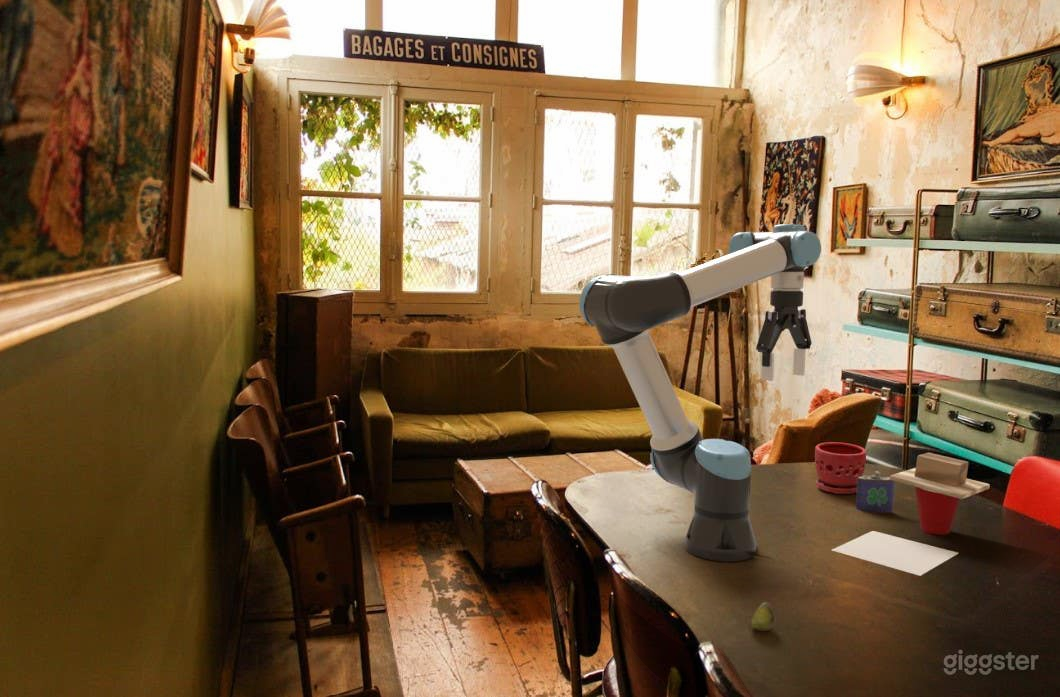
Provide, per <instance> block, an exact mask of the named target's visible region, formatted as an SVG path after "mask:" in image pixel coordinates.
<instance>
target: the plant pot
mask: <svg viewBox="0 0 1060 697" xmlns="http://www.w3.org/2000/svg"><path fill="white" fill-rule="evenodd" d="M836 452H837V453H836ZM866 460H867V451H866V449H865V447H862V446H859V445H857V444H851V443H846V442H836V441H834V442H831V441H830V442H822V443H818V444H817V445H816V446H815V448H814V466H815V470H816V474H817V476H818V478H817V479H816V481H815V482H816V485H817V487H818V488H819V489H821V490H823V491H825V492H829V493H832V494H839V495H849V494H855V493H857V478H858V477H862V476H864V472H865V469H866V463H867V461H866Z"/></svg>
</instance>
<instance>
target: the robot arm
mask: <svg viewBox="0 0 1060 697" xmlns="http://www.w3.org/2000/svg"><path fill="white" fill-rule="evenodd" d="M821 253H822V244H821V240H820V238H819V236H818V235H817V234H816V233H814V232H812V231H809V230H808V231H806V227H805V226H804V225H802V224H775V225H774V226H773V228H772V231H761V232H756V231H755V232H754V231H753V232H752V231H745V232H744V231H743V232H742V231H741V232H737V233H735V234H733V236H731V238H730V240H729V244H728V254H726V255H723V256H720V257H717V258H715V259H713V260H711V261H708V262H705V263H702V264H700V265H697V266H694V267H691V268H689V269H685V270H683V271H681V272H677V271H675V270H670V271H667V272H664V273H660V274H657V275H648V276H647V275H645V276H643V275H642V276H641V275H638V276H636V275H632V276H631V275H617V274H615V273H614V274H613V273H608V274H602V275H598V276H595V277H594V278H592V279H590V280H589V281H588V282H587V283H586V284H585V286H584V287H583V289H582V291H581V294H580V297H579V302H578V303H579V304H578V306H579V311H580V315H581V316H582V318H583V320H584V321H585V322H586V323H588V324H589V325H590V326H591V327H595V329H596V331H597V334H598V336H599V338H600V339H601V341H602V344H603V345H604V346H607V347H609V348H612V349H613V351H614V353H615V355H616V357H617V360H618V362H619V365H621V369H622V371H623V373H624V375H625V378H626V380H627V381H628V383H629V386H630V387H631V390H632V392H633V394H634V396H635V399H636V402H638V405H639V408H640V409H641V411H642V414H643V416H644V418H645V420H646V423H647V425H648V427H649V429H650V431H651V433H652V435H651V438H650V441H649V445H650V447H651V449H650V450H651V452H650V453H649V454H650V457H649V458H650V463H651V464H650V465H651V466H652V468H653V471H654V472H655V473H656V475H658V476H659V477H660V478H662V479H663V480H664V481H665V482H666V483H669V484H671V485H674V486H677V487H679V488H681V489H684V490H686V491H688V492H691V493H693V494H694V510H693V511H694V513H693V516H692V519H691V522H690V524H689V527H688V529H687V532H686V535H685V546H684V548H685V549H686V551H687V552H689V553H690V554H691V555H693V556H695V557H698V558H702V559H705V560H710V561H716V562H731V563H732V562H740V561H741V562H742V561H746V560H749V559H751V558H754V557H755V556H756V554H757V552H756V551H757V540H756V538H755V534H754V530H753V527H752V524H751V520H750V498H751V479H752V469H753V468H752V463H751V461H752V460H751V454H750V451H749V450H748V449H747V448H746V447H745V446H744V445H742V444H740V443H737V442H735V441H732V440H725V439H722V438H706V439H704V437H703V435H702V432H701V431H700V429H699V426H698V424H697V423H696V422H695V421H693V420H689V419H688V417H687V416H686V413H685V411H684V409H683V407H682V405H681V402H680V399H679V398H678V395H677V393H676V391H675V389H674V386H673V384H672V381H671V380H670V377H669V375H668V372H667V370H666V368H665V366H664V364H663V361H662V359H661V357H660V354H659V352H658V351H657V347H656V345H655V343H654V341H653V338H652V337H651V334H650V330H651V329H655V328H657V327H659V326H662V325H664V324H667V323H669V322H671V321H674V320H676V319H679V318H681V317H684V316H687V315H688V314H689V313H690V312H691V310H692V308H693V307H696V306H698V305H701V304H703V303H706V302H708V301H711V300H713V299H716V298H718V297H721V296H723V295H726V294H728V293H731V292H733V291H736V290H738V289H741V288H743V287H746V286H749V285H751V284H754V283H756V282H758V281H761V280H763V279H766V278H769V277H770V288H771V289H772V290H771V291H770V296H769V297H770V298H769V300H770V301H769V304H770V306H772V307H773V310H766V311H765V314H764V315H765V316H764V321H763V325H762V327H761V331H760V333H759V337H758V340H757V344H756V347H755V349H756V351H757V352H758V353H761V380H764V381H767V382H768V381H769V382H773V381H774V370H775V353H774V352H773V351H774V349H775V346H776V345H777V343H778V340H779V339H780V337H781V334H782V333H783V332H784V331H785V330H787V329H788V332H789V334H790V336H791V338H792V341H793V343H794V344H795V347H796V348H793V366H792V375H794V376H805V372H806V371H805V370H806V349H807V350H810V349H811V346H812V343H813V342H812V339H811V335H810V330H809V324H808V321H807V312H806V311H807V309H805V308H800V307H802V306H803V305H804V291H803V290H802V289H803V288H804V280H805V267H808V266H812V265H813V264H815V263H816V262H818V260H819V258H820V257H821Z"/></svg>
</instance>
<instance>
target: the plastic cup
mask: <svg viewBox="0 0 1060 697" xmlns="http://www.w3.org/2000/svg"><path fill="white" fill-rule="evenodd" d="M914 488H915V495H916V500H917V510H918V511H917V512H918V518H919V519H918V520H919V526H920V530H921V531H922V532H924V533H927V534H932V535H938V536H939V535H941V536H942V535H943V536H946V535H949V534H950V533H951V529H952V526H953V523H954V520H955V516H956V512H957V508H958V505H959V502H960V500H961V499H959V498H956V497H952V496H948V495H945V494H941V493H937V492H933V491H930V490H926V489H922V488H919V487H915V486H914Z"/></svg>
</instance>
